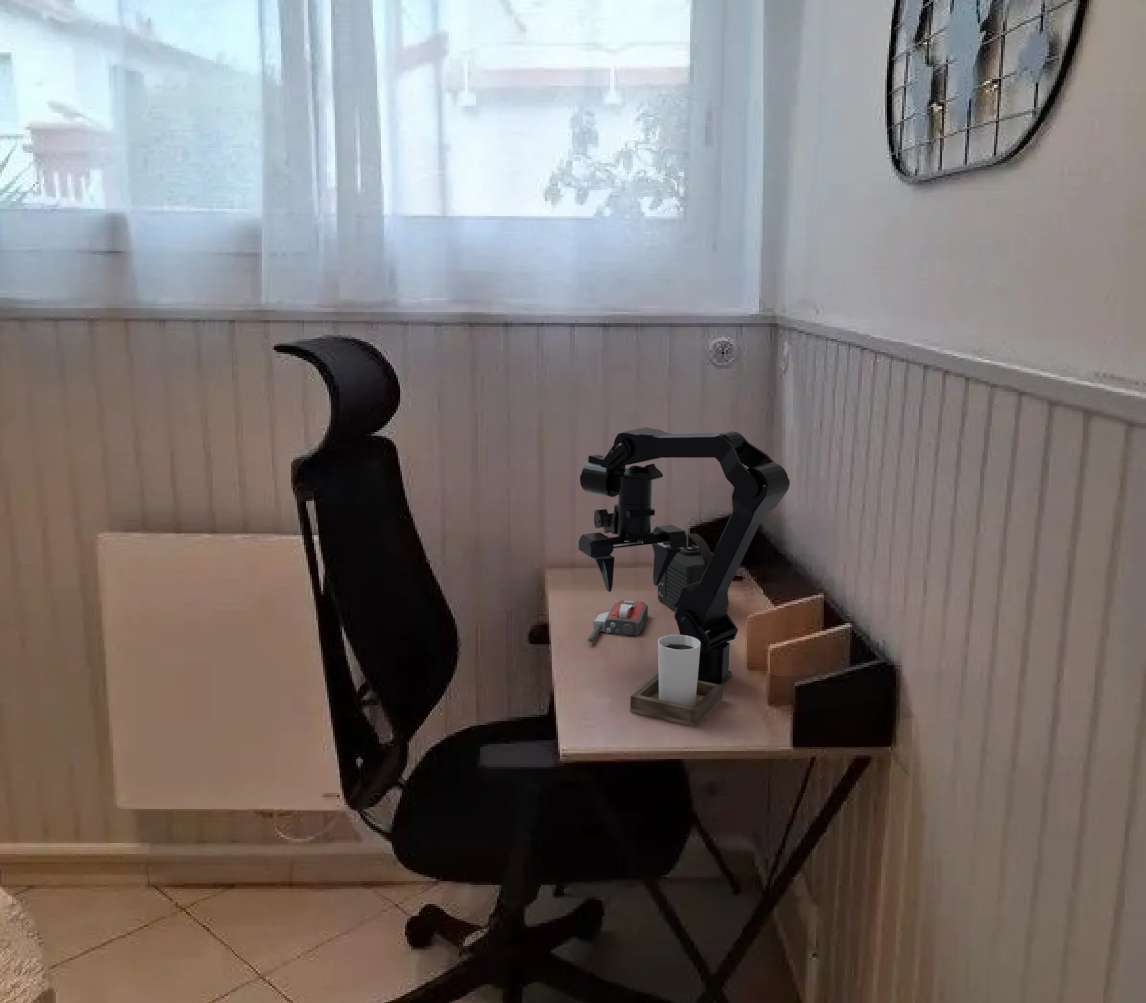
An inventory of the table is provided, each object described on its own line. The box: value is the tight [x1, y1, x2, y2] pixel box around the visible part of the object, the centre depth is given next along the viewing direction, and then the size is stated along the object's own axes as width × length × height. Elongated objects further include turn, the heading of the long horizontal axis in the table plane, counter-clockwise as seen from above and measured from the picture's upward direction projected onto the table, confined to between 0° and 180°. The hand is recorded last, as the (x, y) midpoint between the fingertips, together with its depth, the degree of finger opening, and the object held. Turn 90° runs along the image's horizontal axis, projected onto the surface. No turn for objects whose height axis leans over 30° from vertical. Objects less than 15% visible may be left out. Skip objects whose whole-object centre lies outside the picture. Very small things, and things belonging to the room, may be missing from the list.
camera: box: [657, 533, 729, 614], centre depth 210 cm, size 11×14×15 cm
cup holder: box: [629, 673, 724, 728], centre depth 164 cm, size 11×11×3 cm
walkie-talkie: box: [587, 599, 649, 643], centre depth 198 cm, size 9×4×20 cm
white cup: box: [657, 634, 701, 707], centre depth 163 cm, size 7×7×10 cm
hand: (632, 588), depth 184 cm, fingers open, 9 cm apart
